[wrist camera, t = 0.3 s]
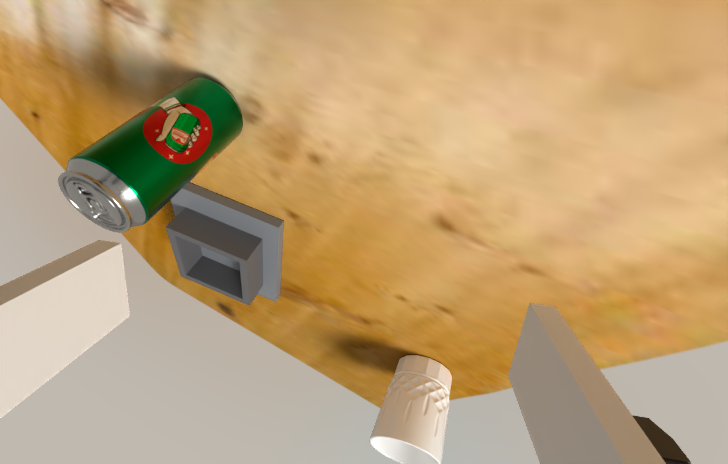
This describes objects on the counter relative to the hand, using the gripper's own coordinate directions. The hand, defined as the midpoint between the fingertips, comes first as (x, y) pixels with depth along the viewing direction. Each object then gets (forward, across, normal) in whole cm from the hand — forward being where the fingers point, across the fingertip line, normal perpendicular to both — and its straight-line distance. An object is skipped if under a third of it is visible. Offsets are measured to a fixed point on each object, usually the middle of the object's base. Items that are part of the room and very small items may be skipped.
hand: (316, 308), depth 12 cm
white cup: (+29, +9, -25) cm, 39 cm away
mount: (+27, -15, -10) cm, 33 cm away
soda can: (+19, -12, +4) cm, 23 cm away
